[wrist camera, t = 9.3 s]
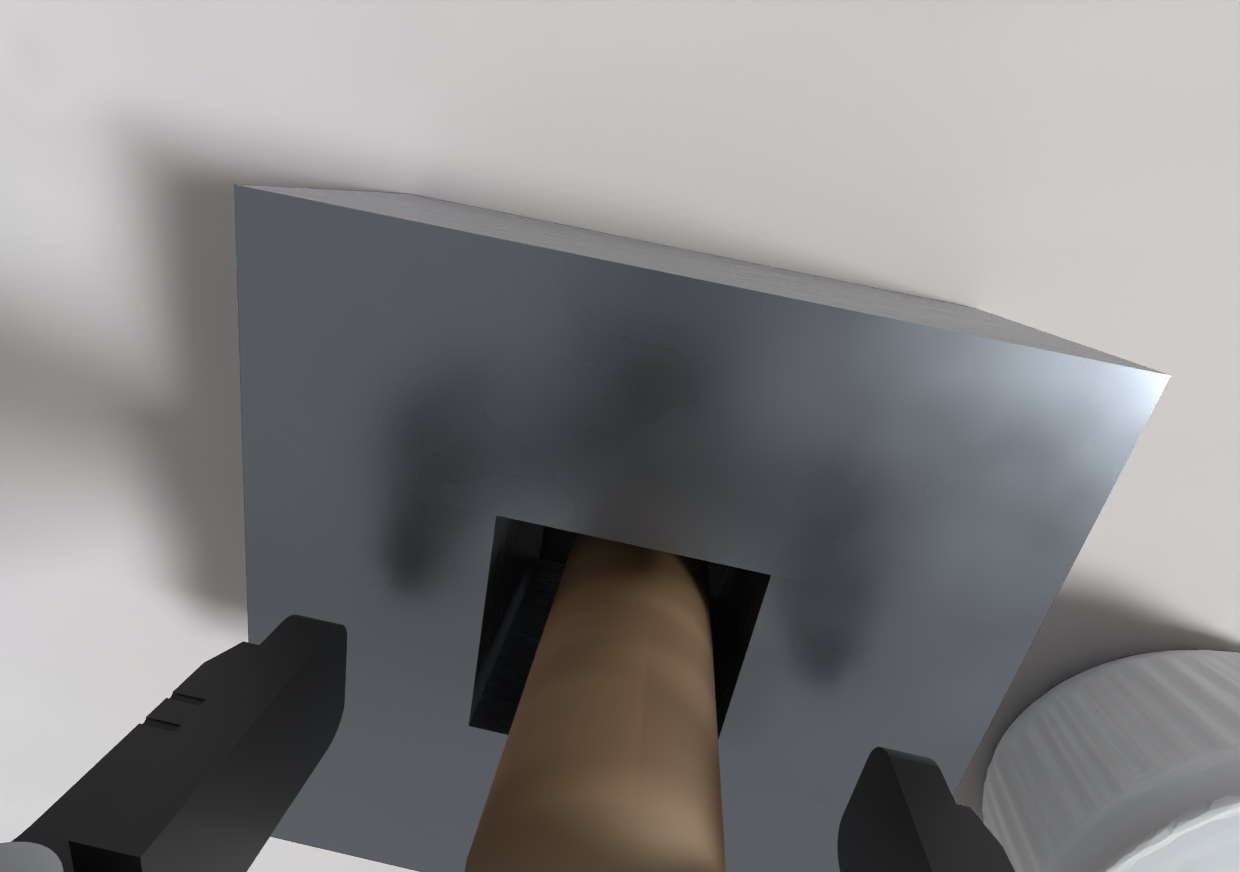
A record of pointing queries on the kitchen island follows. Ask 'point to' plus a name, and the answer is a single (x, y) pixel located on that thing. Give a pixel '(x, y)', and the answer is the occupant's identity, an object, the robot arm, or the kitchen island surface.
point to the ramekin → (1124, 769)
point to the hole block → (644, 498)
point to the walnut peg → (613, 726)
